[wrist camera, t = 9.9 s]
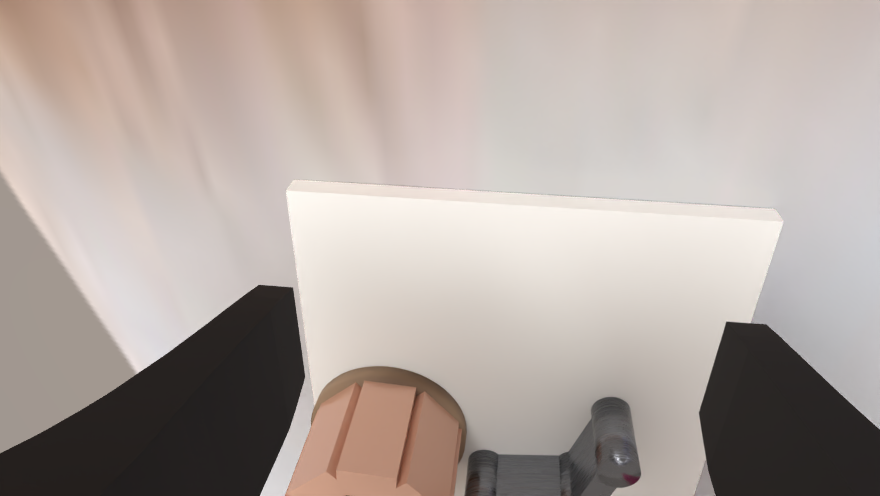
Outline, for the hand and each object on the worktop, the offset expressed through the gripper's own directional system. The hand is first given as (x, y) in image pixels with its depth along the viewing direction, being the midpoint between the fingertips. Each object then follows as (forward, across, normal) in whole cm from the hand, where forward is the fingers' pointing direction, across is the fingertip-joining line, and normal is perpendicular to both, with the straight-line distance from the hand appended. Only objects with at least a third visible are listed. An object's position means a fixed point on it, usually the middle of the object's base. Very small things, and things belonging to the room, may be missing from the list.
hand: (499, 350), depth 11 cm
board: (+10, 0, +10) cm, 14 cm away
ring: (+8, +4, +12) cm, 15 cm away
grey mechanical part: (+9, -2, +12) cm, 15 cm away
